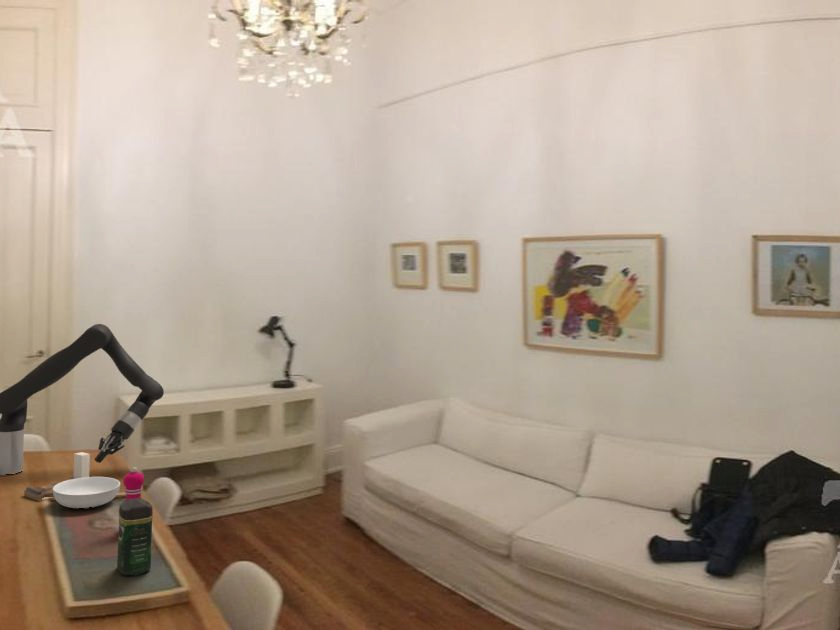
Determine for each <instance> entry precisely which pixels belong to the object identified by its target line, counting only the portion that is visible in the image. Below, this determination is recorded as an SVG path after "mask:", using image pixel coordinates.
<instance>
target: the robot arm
mask: <svg viewBox="0 0 840 630" xmlns="http://www.w3.org/2000/svg"><path fill="white" fill-rule="evenodd" d="M100 349H101V350H102V351H104V352H105V353H106V354H107V355H108V356H109V357H110V359H111V360H112V362H113V363H114V365H115V366H116V368H117V370H118V371H119V373H120V374H121V375H122V376H123V377H124V378H125V379H126V380H127V382H129V383H130V384H131V385H132V386H133V387H137V388H138V389H140V390H141V391H140V393H139V394H138V396H137V397H136V399H135V400H134V402H133V403H132V404H131V405H130V406H129V408H127V410H126V411H125V412H124V413H123V414H122V415H121V416H120V418H118V420H116V422H115V424H114V425H113V426H112V427H111V428H110V431H111V433H110V434H108V435H107V437H106V438H104V437H101V438H100V440H99V445H98V450H99V451H100V452H99V453H98V454H97V455H96V457H94V461H95V462H96V463H99V464H101V463H102V462H103V461H104V460H105V458H106V457H107V456H109V455H114V454H116V453H117V452H118V451H120V450H121V449H123V448H124V447H125V445H124V441H127V440H128V439H129V438H130V437H131V436H132V434H133V433H134V432H135V431H136V430H137V428H138V427H139V425H140V424H141V422H142V421H143V420H144V419H145V418H146V415H148V413H149V411H150V408H152V406H153V404H154V403H155V402H156V401H159V400H161V399H162V398H163V396H164V395H165V393H164V388H163V387H162V385H161V384H160V383H159V382H158V381H157V380H155V379H154V378H153V377H151V376H150V375H148V374H147V373H146V371H144V370H143V368H142V367H141V366H140V365H139V364H138V363H137V362H136V361H135V360H134V359H133V358H132V357H131V356H130V354H129V353H128V352H127V351H126V349H124V347H123V346H122V345H121V343H120V342H119V340H118V339H117V337H115V335H114V333H113V332H112V331H111V329H110V328H109V326H107V325H105V324H102V323H97V324H96V323H95V324H93V325H92V326H90V327H88V328H87V329H86V330H84V332H83V333H82V334H81V335H80V336H79V337H78V338H77V339H76V340H74V342H72V343H71V344H70V345H68V346H67V347H65V348H63V349H61V350H58V351H57V352H56V353H54V354H52V355H50V356H49V357H48V358H46V359H45V360H44V361H43V362H41V363H40V364H39V365H37V366H36V367H35V368H34V369H32V370H31V371H30V372H29V373H28V374H26V375H25V376H24V377H23V378H21V379H20V380H19V381H17V382H16V383H14V384H13V385H11V386H9V387H8V388H5V389H4V390H2V391H1V392H0V414H1V417H0V476H6V475H5V474H12V473H18V472H21V471H23V472H24V443H25V442H24V440H25V436H24V435H25V424H26V421H27V417H28V416H27V414H28V399H30V398H31V397H32V396H33V395H35V394H37V393H39V392H40V391H43V390H44V389H46V388H48V387H50V386H52V385H54V384H55V383H57V382H58V381H60V380H61V379H62V378H64V377H65V376H66V375H68V374H69V373H70V372H71V371H73V370H74V369H75V367H76V366H78V365H79V363H80V362H82V361H83V360H84V359H85V358H87V357H88V356H91V355H92V354H93V353H95V352H97V351H98V350H100ZM21 473H22V472H21ZM18 474H19V473H18Z"/></svg>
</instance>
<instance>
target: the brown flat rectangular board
mask: <svg viewBox="0 0 840 630" xmlns="http://www.w3.org/2000/svg"><path fill="white" fill-rule="evenodd" d="M89 477H93V476H92V475H89ZM61 482H62V481H60V482H56V483H51V484H47V485H42V486H38V487H30V486H26V488H25V490H24V493H23V496H24V497H25V498H29V499H30V500H35V501H37V502H43V501H42V498H44V497H54V495H53V487H54V486H55V485H56V484H58V483H61Z"/></svg>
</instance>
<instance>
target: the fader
mask: <svg viewBox="0 0 840 630" xmlns="http://www.w3.org/2000/svg"><path fill="white" fill-rule="evenodd" d="M90 457H91V455H90V453H87V452H83V451H81V452H76V453H73V476H72V477H70V480H71V479H76V478H84V477H89V476H90V463H91V462H90V461H91V460H90V459H91V458H90Z"/></svg>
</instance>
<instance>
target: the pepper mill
mask: <svg viewBox="0 0 840 630" xmlns="http://www.w3.org/2000/svg"><path fill="white" fill-rule="evenodd" d="M122 483H123V486H124V487H125V488H124V494H125V496H126V498H125V500H127V499H134V498H141V495H142V492H143V485H144V483H145V476H144V474H143V473H141V472H139V471H138V468H137V467H136V466H133V467H132V468H131V471H130V472H128V473H127V474H125V476H124V478H123V482H122ZM141 499H142V498H141Z"/></svg>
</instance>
